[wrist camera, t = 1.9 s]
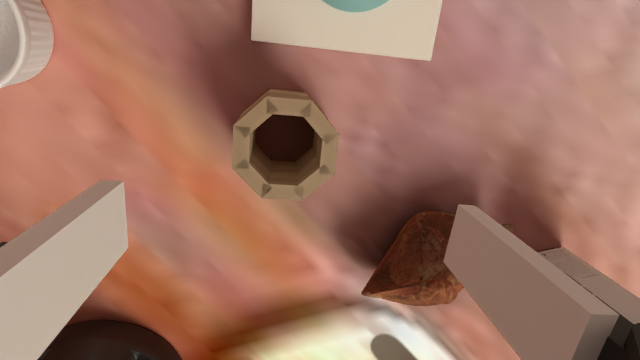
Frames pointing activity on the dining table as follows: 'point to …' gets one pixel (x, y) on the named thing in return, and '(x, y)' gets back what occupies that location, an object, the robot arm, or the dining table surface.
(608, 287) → the small box
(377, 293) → the fossil
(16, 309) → the robot arm
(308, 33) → the post stand
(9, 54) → the ramekin
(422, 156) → the dining table surface
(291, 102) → the maple ring
